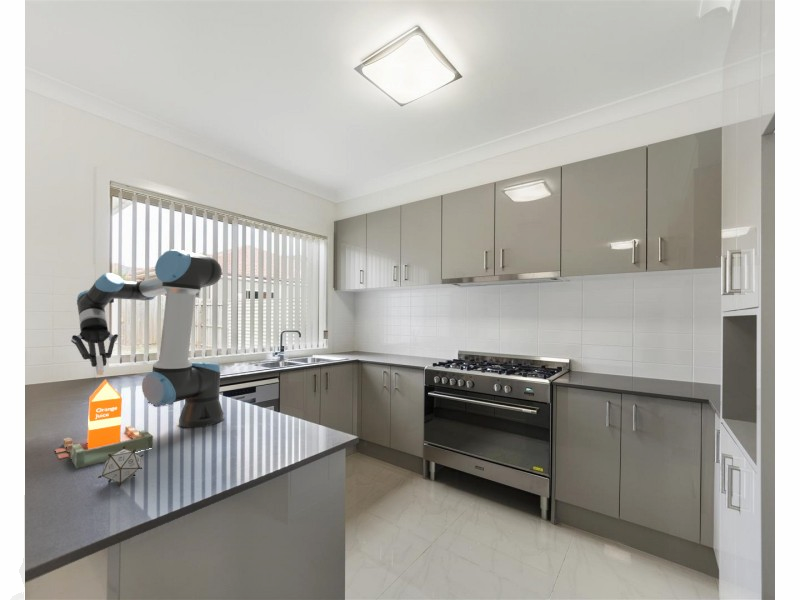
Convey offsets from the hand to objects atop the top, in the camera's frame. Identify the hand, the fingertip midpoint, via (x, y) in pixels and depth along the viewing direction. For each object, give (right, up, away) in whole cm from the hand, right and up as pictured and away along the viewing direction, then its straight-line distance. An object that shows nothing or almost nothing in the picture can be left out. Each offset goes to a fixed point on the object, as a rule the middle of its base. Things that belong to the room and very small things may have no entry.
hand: (100, 372), depth 115 cm
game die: (+35, -20, -32) cm, 52 cm away
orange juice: (+7, -22, -7) cm, 24 cm away
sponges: (-10, -25, +43) cm, 51 cm away
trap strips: (+3, -21, -16) cm, 26 cm away
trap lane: (+12, -21, -11) cm, 26 cm away
